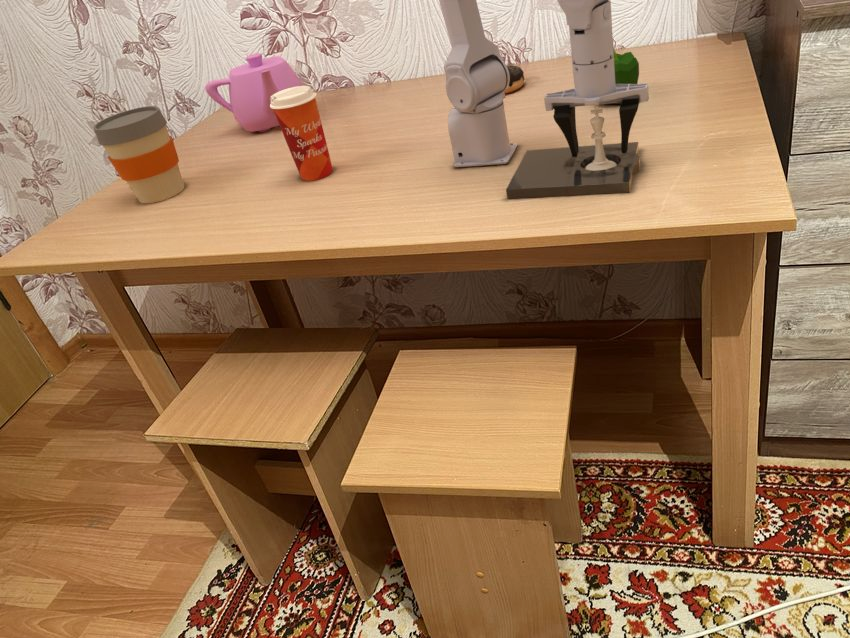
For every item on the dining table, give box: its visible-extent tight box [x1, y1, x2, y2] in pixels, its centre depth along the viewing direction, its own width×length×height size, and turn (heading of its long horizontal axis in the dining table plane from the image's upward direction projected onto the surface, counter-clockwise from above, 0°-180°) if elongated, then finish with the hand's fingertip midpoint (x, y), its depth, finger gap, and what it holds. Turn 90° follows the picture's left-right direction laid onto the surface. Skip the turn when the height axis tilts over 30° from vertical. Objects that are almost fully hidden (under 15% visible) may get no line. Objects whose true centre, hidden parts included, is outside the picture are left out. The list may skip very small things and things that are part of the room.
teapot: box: [204, 52, 304, 133], centre depth 155 cm, size 23×21×15 cm
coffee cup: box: [270, 85, 334, 182], centre depth 124 cm, size 8×8×15 cm
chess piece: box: [585, 104, 617, 171], centre depth 103 cm, size 5×5×10 cm
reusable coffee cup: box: [92, 105, 185, 204], centre depth 132 cm, size 13×13×15 cm
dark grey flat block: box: [505, 141, 641, 200], centre depth 106 cm, size 19×15×2 cm
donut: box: [504, 64, 526, 94], centre depth 149 cm, size 11×12×4 cm
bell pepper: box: [608, 48, 640, 105], centre depth 127 cm, size 8×8×10 cm
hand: (599, 152), depth 104 cm, fingers open, 7 cm apart
